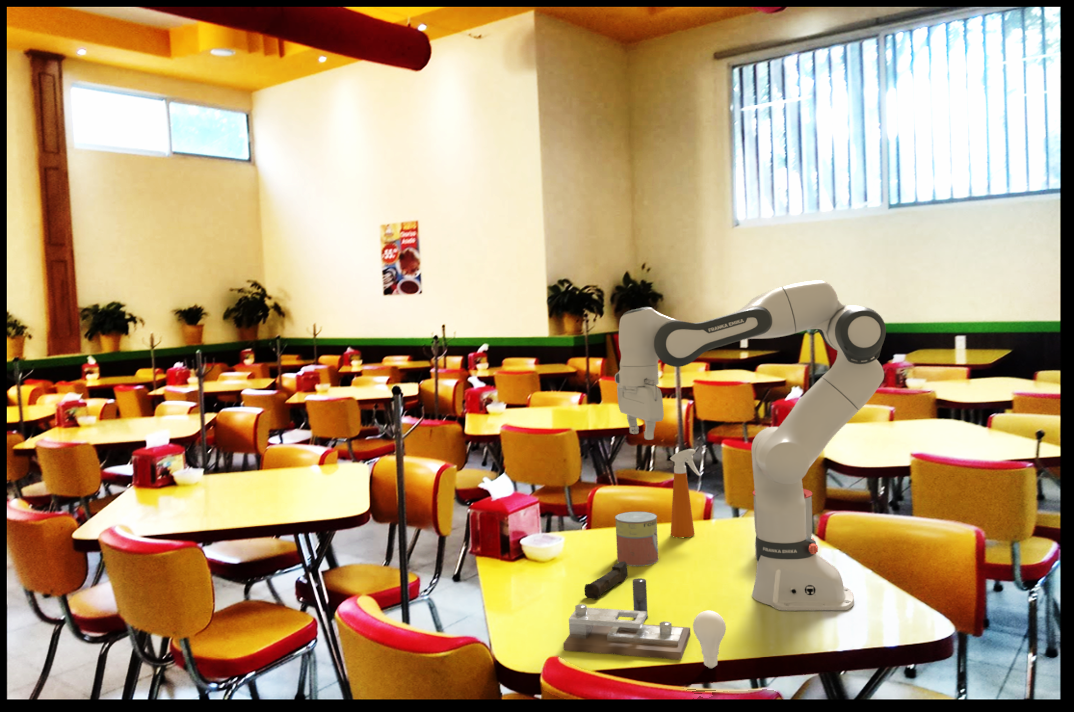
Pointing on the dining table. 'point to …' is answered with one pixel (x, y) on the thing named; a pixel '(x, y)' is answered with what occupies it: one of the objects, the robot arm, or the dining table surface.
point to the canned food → (637, 538)
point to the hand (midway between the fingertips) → (641, 436)
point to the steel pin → (640, 595)
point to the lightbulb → (709, 635)
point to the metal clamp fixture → (622, 626)
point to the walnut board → (625, 645)
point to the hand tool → (607, 581)
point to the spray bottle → (682, 495)
